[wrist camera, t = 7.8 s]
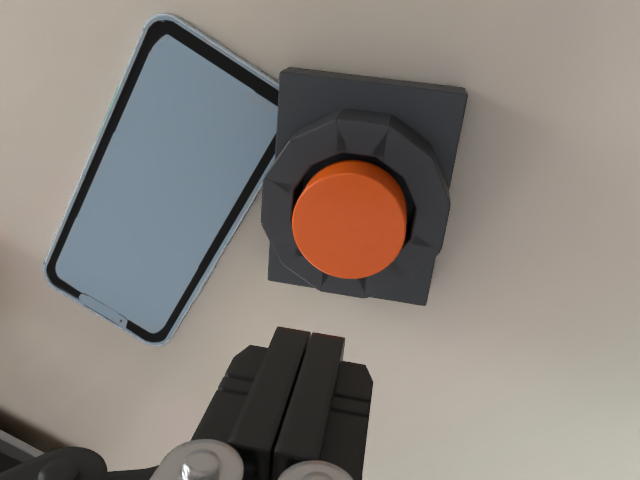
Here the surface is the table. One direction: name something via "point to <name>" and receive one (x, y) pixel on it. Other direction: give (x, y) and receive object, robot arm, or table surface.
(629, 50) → the table surface
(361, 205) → the button
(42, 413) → the table surface
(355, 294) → the button block
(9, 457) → the camera
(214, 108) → the smartphone
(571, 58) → the table surface
